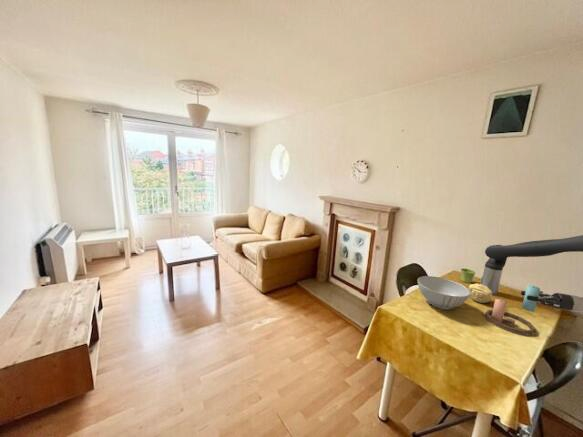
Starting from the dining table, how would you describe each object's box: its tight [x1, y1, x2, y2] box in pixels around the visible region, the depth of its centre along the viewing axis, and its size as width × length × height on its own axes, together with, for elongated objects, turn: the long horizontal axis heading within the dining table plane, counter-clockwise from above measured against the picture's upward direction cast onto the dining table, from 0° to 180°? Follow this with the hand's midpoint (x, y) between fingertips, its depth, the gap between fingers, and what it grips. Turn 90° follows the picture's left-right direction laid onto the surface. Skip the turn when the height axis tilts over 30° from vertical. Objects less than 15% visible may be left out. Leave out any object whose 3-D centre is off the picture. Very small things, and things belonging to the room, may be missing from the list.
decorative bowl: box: [417, 275, 471, 310], centre depth 141 cm, size 27×27×12 cm
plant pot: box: [460, 267, 477, 284], centre depth 176 cm, size 9×9×9 cm
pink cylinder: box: [490, 298, 508, 324], centre depth 125 cm, size 5×5×12 cm
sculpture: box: [468, 282, 493, 304], centre depth 148 cm, size 12×12×11 cm
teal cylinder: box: [521, 284, 541, 313], centre depth 118 cm, size 5×5×12 cm
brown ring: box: [484, 309, 536, 336], centre depth 125 cm, size 19×19×2 cm
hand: (524, 295), depth 119 cm, fingers closed on teal cylinder, 4 cm apart
